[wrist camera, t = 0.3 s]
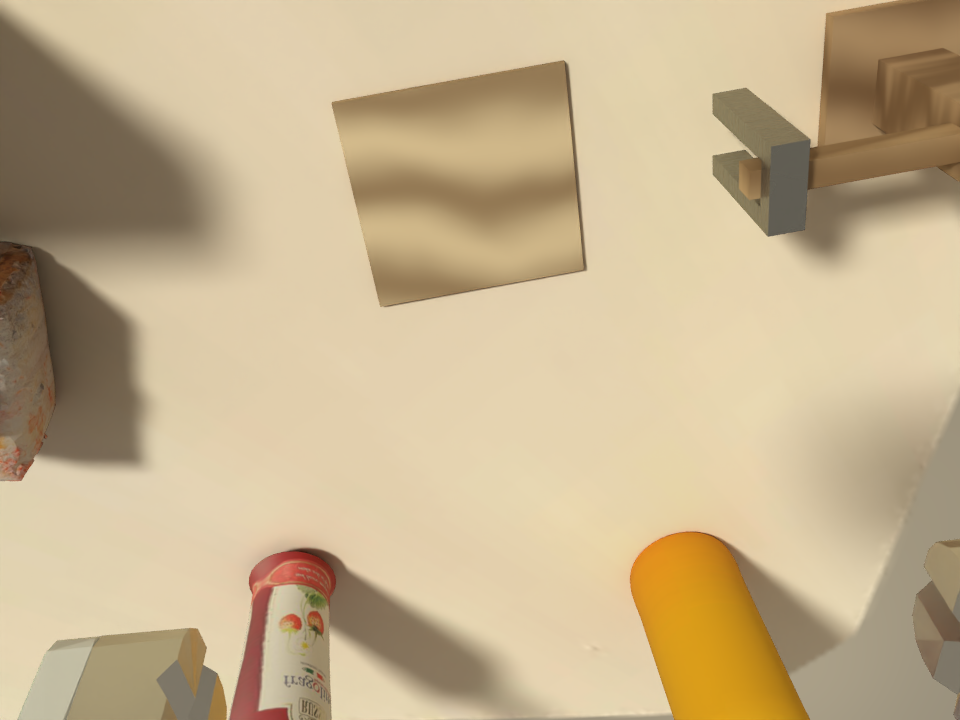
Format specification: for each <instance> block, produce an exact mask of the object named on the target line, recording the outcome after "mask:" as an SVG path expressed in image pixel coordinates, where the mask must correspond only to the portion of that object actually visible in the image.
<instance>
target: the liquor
mask: <svg viewBox="0 0 960 720" xmlns="http://www.w3.org/2000/svg"><path fill="white" fill-rule="evenodd" d="M335 585H336V579H335V575H334V572H333V570H332V569H331V567H330V566H329V565H328V564H327V563H326V562H325V561H323V560H322V559H320V558H318V557H316V556H314V555H311V554H308V553H304V552H298V551H291V552H282V553H277V554H274V555H271V556H269V557H267V558H265V559H263V560H262V561H260V562H259V563H258V564H257V565H256V566H255V567H254V569H253V570H252V572H251V574H250V577H249V586H250V590H251V592H252V594H253V596H252V602H251V608H250V614H249V620H248V626H247V631H246V637H245V642H244V647H243V653H242V658H241V663H240V668H239V673H238V677H237V682H236V686H235V691H234V695H233V700H232V704H231V709H230V713H229V718H228V720H332V717H331V692H330V658H329V610H330V596H331V595H332V593H333V591H334V589H335Z"/></svg>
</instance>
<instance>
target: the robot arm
mask: <svg viewBox="0 0 960 720" xmlns="http://www.w3.org/2000/svg"><path fill="white" fill-rule="evenodd" d="M924 568H925V569H926V571H927V573H928V574H929V576H930V577H931V579H932V581H931V582H929V583H928V584H927V585H926V586H925V587H924V588H923V589H922V590H921V591H920V592H919V593H917V594H916V600H915V604H914V609H913V614H912V616H913V624H914V631H915V639H916V642H917V645H918V648H919V650H920V653H921V656H922V659H923V660H924V662H925V664H926V666H927V668H928V670H929V671H930V673H931V675H932V677H933V678H934V679H935V680H936V681H938V682H939V683H941V684H942V685H944V686H946V687H947V688H948V689H950V690H951V691H953V692H954V693H956V694H957V700H956V706H955V710H954V716H955V718H956V720H960V539H956V540H947V541H939V542H936V543H935V544H934V545H933V546H932V547H931V548H930V549H929V550H928V553H927V556H926V560H925V563H924ZM206 649H207V647H206V645H205V643H204V641H203V639H202V637H201V635H200V632H199V630H198V629H196V628H186V629H174V630H163V631H151V632H140V633H129V634H117V635H106V636H99V637H89V638H78V639H68V640H58V641H56V642H55V643H54V644H53V645H52V647H51V648H50V649H49V650H48V651H47V652H46V653H45V655H44V657H43V660H42V662H41V664H40V667H39V669H38V671H37V674H36V676H35V679H34V681H33V683H32V686H31V688H30V691H29V693H28V695H27V698H26V700H25V703H24V705H23V707H22V710H21V712H20V714H19V717H18V719H17V720H226V713H227V706H226V701H225V695H224V690H223V686H222V684H221V681H220V679H219V676H218V674H217V673H216V672H214V671H213V670H211V669H209V668H208V667H206V666H204V665H203V662H204V658H205V653H206Z"/></svg>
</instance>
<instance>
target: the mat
mask: <svg viewBox="0 0 960 720" xmlns="http://www.w3.org/2000/svg"><path fill="white" fill-rule="evenodd" d="M332 107H333V111H334V116H335V120H336V124H337V128H338V132H339V136H340V141H341V145H342V149H343V153H344V157H345V161H346V166H347V170H348V174H349V178H350V182H351V186H352V191H353V195H354V199H355V203H356V207H357V211H358V216H359V220H360V224H361V228H362V232H363V236H364V241H365V245H366V249H367V253H368V257H369V261H370V266H371V270H372V274H373V278H374V282H375V286H376V291H377V295H378V299H379V303H380V307H382V306H388V305H393V304H399V303H404V302H410V301H415V300H421V299H426V298H432V297H437V296H443V295H448V294H454V293H459V292H465V291H470V290H476V289H481V288H487V287H492V286H498V285H503V284H509V283H514V282H520V281H525V280H531V279H536V278H542V277H547V276H553V275H558V274H564V273H569V272H575V271H580V270H584V267H583V256H582V245H581V234H580V223H579V213H578V202H577V191H576V180H575V169H574V158H573V147H572V136H571V126H570V115H569V104H568V93H567V82H566V71H565V62H564V61H558V62H553V63H547V64H542V65H536V66H530V67H525V68H519V69H514V70H508V71H503V72H497V73H491V74H486V75H480V76H475V77H469V78H463V79H458V80H452V81H447V82H441V83H436V84H430V85H424V86H419V87H413V88H408V89H402V90H397V91H391V92H385V93H380V94H374V95H369V96H363V97H357V98H352V99H346V100H341V101H335V102H332Z"/></svg>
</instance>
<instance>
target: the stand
mask: <svg viewBox="0 0 960 720" xmlns="http://www.w3.org/2000/svg"><path fill="white" fill-rule="evenodd" d="M761 162H762V161H761V160H760V159H759V158H753V159H747V160H742V161H739V189H740V191H741V192H742V193H743V194H744V195H745V196H746V197H747V198H748V199H749V200H753V199H759V198H760V195H761ZM935 166H936V167H938V168H939V169H941V170H942V171H944V172H945V173H947V174H948V175H950V176H951V177H953V178H954V179H956V180H957V181H959V182H960V0H899V1H893V2H888V3H882V4H876V5H871V6H865V7H860V8H854V9H849V10H843V11H837V12H832V13H826V27H825V42H824V58H823V73H822V88H821V103H820V119H819V134H818V147H814V148H810V154H809V171H808V187H807V190H808V189H814V188H819V187H825V186H830V185H836V184H841V183H847V182H852V181H858V180H863V179H869V178H874V177H880V176H885V175H891V174H896V173H902V172H907V171H913V170H919V169H924V168H930V167H935Z"/></svg>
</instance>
